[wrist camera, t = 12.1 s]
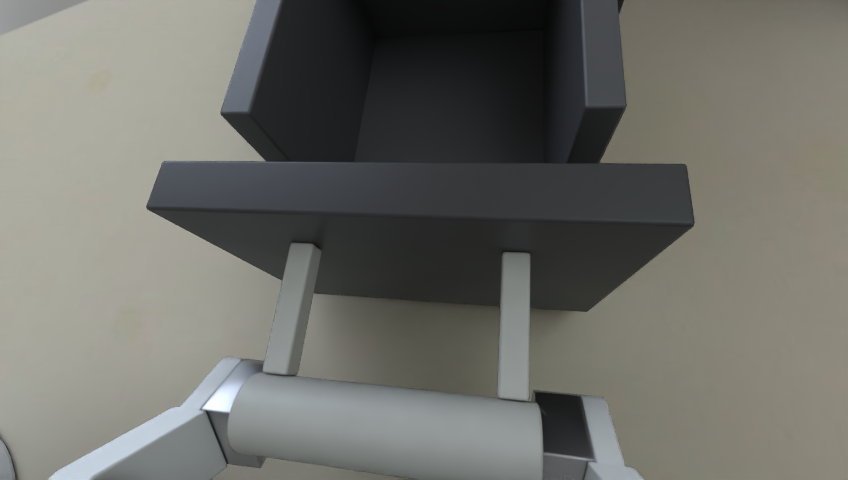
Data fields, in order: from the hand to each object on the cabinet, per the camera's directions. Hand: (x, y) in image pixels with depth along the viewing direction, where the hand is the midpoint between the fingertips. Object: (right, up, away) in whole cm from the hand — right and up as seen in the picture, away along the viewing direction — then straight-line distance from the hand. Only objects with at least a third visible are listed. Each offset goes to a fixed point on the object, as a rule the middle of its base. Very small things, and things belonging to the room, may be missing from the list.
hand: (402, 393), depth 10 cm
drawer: (+1, +5, +6) cm, 8 cm away
